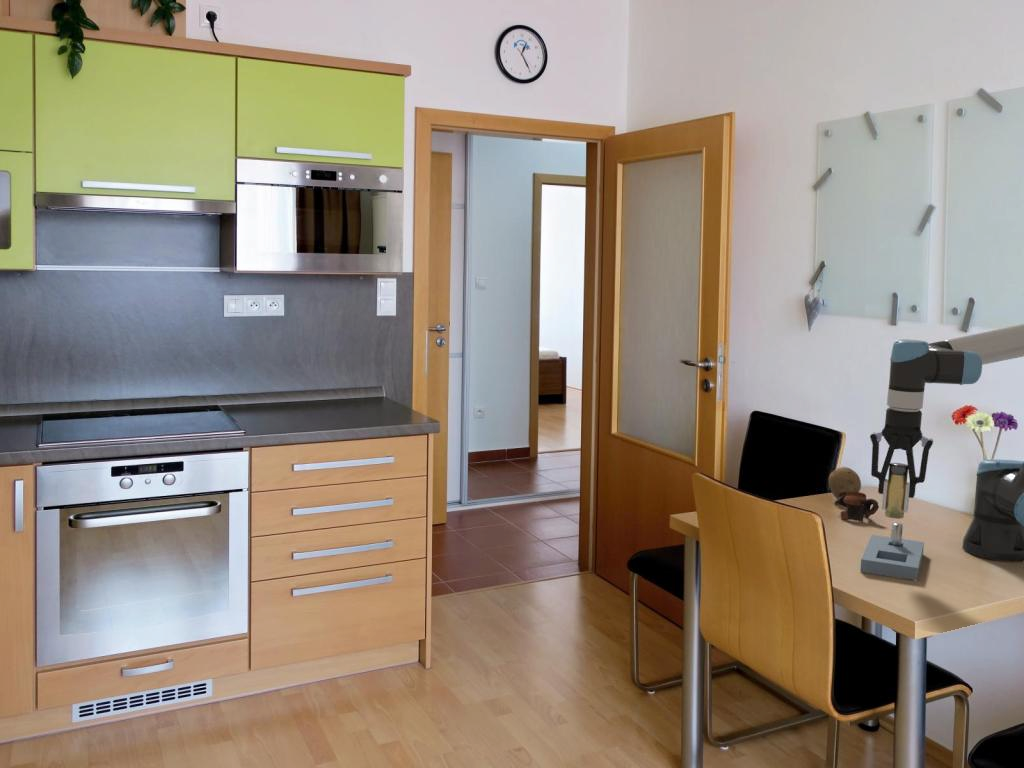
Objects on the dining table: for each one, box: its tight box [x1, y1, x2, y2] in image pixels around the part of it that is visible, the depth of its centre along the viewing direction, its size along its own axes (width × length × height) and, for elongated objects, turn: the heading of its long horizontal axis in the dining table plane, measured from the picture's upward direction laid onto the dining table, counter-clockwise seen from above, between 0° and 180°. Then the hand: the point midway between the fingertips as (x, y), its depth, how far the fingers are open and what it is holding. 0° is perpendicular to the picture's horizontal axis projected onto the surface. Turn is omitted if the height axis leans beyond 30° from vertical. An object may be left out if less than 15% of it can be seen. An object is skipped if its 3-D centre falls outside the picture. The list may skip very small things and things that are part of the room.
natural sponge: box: [828, 466, 862, 500], centre depth 289 cm, size 9×9×10 cm
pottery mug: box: [834, 491, 880, 522], centre depth 272 cm, size 12×10×8 cm
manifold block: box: [859, 534, 925, 581], centre depth 233 cm, size 12×22×3 cm, turn 155°
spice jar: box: [884, 462, 909, 519], centre depth 226 cm, size 4×4×12 cm
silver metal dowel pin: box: [890, 522, 904, 547], centre depth 238 cm, size 2×2×8 cm
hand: (894, 509), depth 227 cm, fingers closed on spice jar, 4 cm apart
